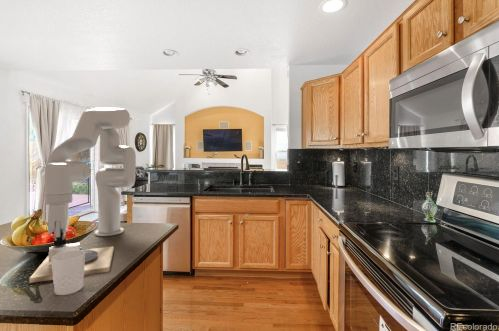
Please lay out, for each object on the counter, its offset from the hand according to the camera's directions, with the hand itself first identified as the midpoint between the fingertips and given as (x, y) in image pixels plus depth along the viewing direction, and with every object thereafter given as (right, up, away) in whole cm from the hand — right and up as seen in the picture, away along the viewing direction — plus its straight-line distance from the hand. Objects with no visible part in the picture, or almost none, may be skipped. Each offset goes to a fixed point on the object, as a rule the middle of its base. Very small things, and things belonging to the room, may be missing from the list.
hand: (60, 250), depth 92 cm
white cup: (+15, -6, -17) cm, 23 cm away
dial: (+5, -3, -1) cm, 6 cm away
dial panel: (+6, -5, 0) cm, 8 cm away
